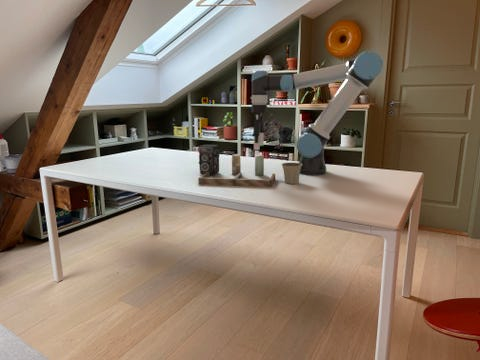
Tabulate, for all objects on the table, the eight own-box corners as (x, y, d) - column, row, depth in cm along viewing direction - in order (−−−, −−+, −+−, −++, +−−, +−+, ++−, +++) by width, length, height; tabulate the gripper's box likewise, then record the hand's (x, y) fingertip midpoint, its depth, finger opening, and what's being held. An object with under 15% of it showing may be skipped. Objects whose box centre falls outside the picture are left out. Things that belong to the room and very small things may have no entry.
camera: (195, 175, 181) (194, 146, 178) (203, 171, 191) (202, 143, 188) (214, 177, 178) (213, 147, 175) (222, 172, 188) (221, 144, 185)
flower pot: (277, 182, 167) (277, 164, 164) (290, 179, 172) (291, 161, 170) (292, 186, 160) (292, 167, 157) (305, 182, 165) (306, 164, 163)
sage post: (264, 174, 183) (264, 155, 181) (263, 176, 179) (263, 156, 177) (255, 173, 184) (255, 154, 182) (254, 175, 180) (254, 156, 178)
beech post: (241, 173, 186) (241, 154, 183) (239, 175, 181) (239, 156, 179) (233, 173, 186) (232, 154, 184) (231, 175, 182) (230, 155, 180)
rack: (275, 179, 171) (275, 173, 171) (271, 187, 158) (272, 180, 157) (207, 177, 178) (206, 171, 177) (198, 184, 165) (198, 177, 164)
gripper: (255, 103, 186) (255, 143, 191) (247, 104, 162) (247, 151, 167) (270, 103, 184) (269, 144, 190) (263, 105, 161) (262, 151, 166)
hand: (258, 147), depth 178 cm, fingers open, 13 cm apart
